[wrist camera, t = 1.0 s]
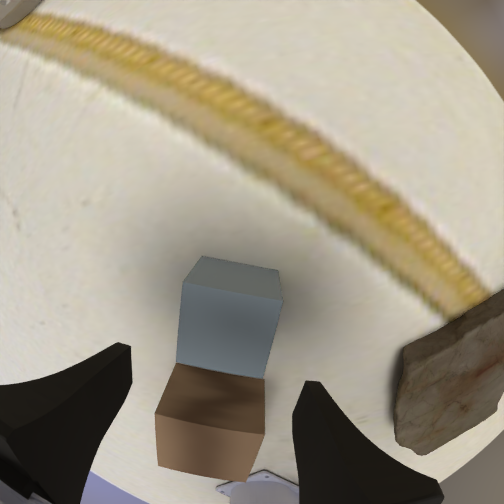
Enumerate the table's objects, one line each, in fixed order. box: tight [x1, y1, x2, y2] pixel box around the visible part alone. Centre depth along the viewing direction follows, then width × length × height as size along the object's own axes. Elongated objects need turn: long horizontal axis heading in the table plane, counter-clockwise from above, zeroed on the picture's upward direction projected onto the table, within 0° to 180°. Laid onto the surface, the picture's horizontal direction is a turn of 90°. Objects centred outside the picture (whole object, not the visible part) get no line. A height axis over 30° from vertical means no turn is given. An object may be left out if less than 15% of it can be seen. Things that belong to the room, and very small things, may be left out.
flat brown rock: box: [394, 289, 504, 456], centre depth 19 cm, size 17×15×4 cm
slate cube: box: [176, 256, 283, 379], centre depth 17 cm, size 5×5×5 cm
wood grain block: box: [155, 363, 265, 483], centre depth 19 cm, size 7×7×6 cm
